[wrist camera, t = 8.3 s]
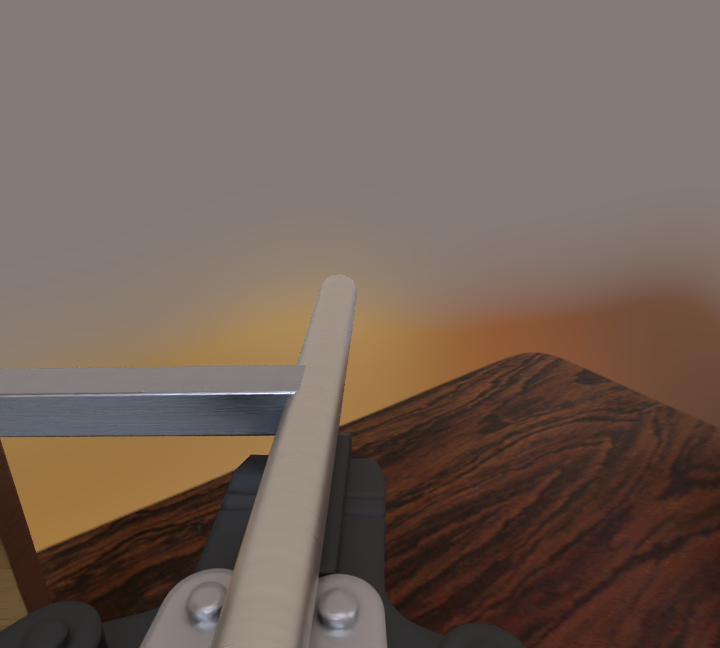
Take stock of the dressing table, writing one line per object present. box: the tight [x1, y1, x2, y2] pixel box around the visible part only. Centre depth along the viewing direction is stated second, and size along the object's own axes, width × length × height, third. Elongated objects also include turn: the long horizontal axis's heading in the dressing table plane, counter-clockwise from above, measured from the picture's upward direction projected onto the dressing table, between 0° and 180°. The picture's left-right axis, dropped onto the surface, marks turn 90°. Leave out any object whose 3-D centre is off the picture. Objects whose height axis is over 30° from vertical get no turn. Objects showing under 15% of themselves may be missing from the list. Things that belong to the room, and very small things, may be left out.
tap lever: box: [0, 275, 357, 648], centre depth 11 cm, size 13×12×2 cm
